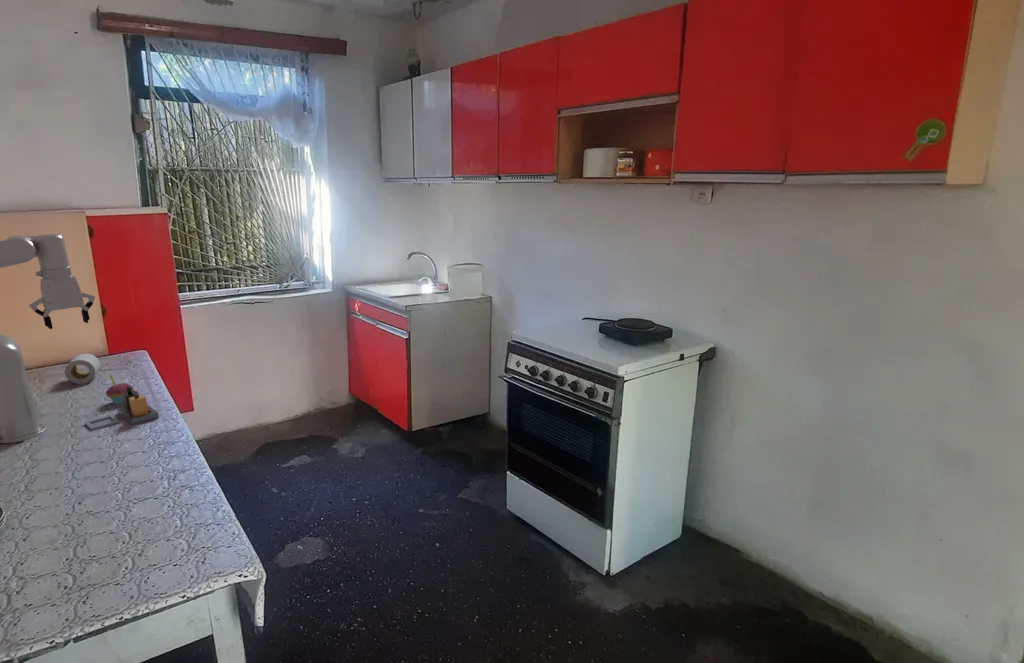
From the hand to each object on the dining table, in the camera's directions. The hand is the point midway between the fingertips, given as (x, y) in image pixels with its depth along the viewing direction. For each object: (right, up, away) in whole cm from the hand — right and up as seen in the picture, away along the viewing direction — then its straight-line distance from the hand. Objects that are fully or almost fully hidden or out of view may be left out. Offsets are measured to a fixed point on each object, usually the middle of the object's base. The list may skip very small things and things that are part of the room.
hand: (68, 325), depth 191 cm
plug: (+19, -32, +7) cm, 38 cm away
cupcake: (+2, -28, +23) cm, 37 cm away
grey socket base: (+17, -31, +10) cm, 37 cm away
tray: (+8, -33, +4) cm, 35 cm away
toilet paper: (-30, -22, +49) cm, 62 cm away
